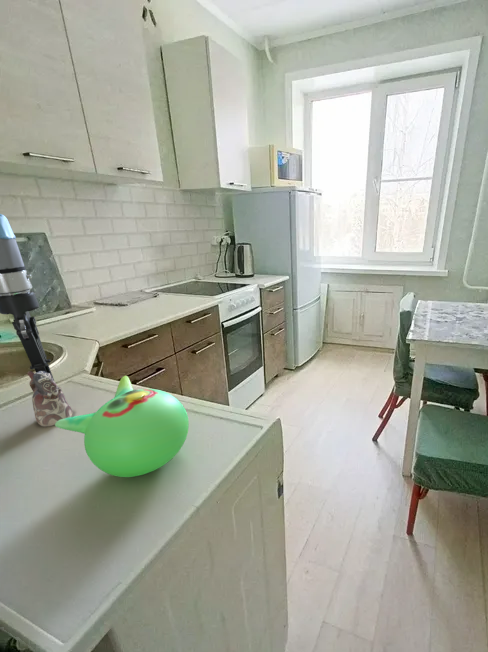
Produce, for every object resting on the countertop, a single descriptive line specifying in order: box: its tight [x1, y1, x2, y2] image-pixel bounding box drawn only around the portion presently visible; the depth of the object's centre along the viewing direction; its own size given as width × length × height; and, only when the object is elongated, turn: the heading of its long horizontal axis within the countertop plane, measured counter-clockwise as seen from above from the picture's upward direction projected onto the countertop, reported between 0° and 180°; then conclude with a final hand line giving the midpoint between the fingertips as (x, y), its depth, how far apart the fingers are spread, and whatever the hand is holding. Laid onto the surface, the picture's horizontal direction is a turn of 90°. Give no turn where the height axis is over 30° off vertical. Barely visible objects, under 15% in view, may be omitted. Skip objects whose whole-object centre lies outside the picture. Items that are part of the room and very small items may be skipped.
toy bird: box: [54, 375, 190, 478], centre depth 63 cm, size 18×17×15 cm
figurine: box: [26, 370, 74, 427], centre depth 80 cm, size 7×7×12 cm
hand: (50, 390), depth 86 cm, fingers closed
